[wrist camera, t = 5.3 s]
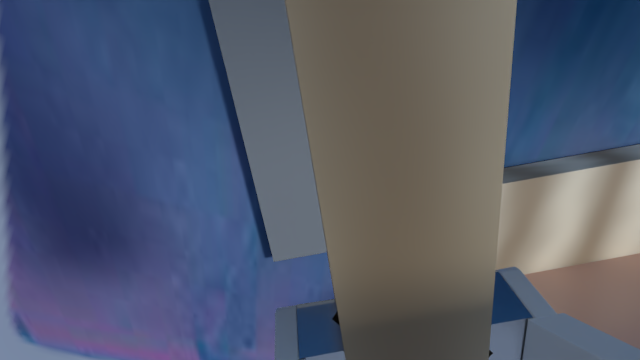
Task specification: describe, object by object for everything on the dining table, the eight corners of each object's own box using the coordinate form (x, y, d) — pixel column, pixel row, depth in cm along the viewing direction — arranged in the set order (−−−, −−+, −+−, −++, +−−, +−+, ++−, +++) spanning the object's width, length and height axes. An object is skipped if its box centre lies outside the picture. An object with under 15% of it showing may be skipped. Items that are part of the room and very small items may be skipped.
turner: (537, -409, 6) (773, -767, 3) (478, 426, 15) (522, 525, 12) (116, -346, 5) (-38, -656, 3) (320, 455, 15) (329, 560, 12)
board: (734, 127, 28) (765, 137, 26) (652, 355, 39) (670, 372, 37) (432, 180, 27) (443, 194, 26) (435, 396, 38) (443, 416, 37)
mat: (382, -250, 17) (385, -257, 17) (406, 232, 29) (409, 237, 29) (156, -216, 17) (152, -223, 17) (273, 256, 29) (273, 261, 28)
